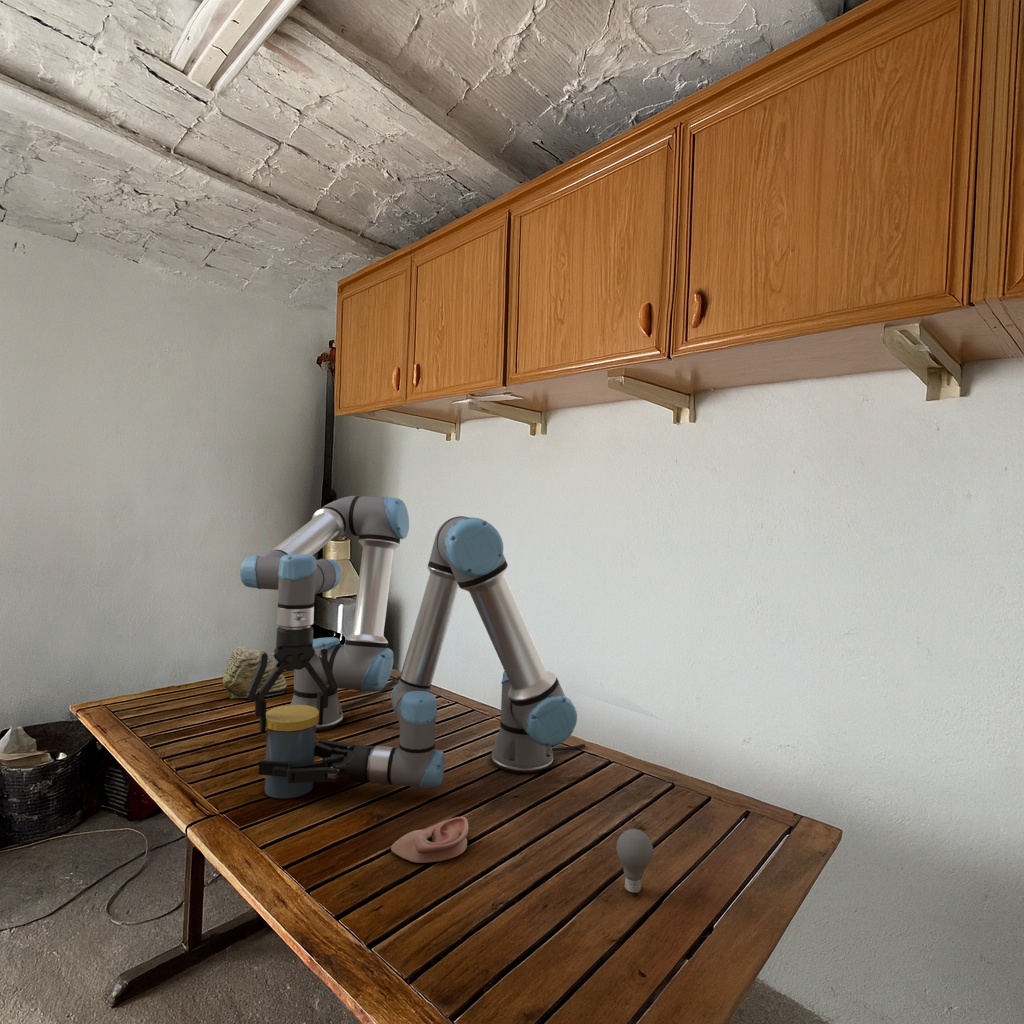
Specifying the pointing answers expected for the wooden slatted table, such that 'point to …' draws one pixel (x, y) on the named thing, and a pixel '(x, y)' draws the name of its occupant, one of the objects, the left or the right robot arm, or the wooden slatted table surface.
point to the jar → (289, 760)
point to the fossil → (248, 673)
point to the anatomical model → (434, 842)
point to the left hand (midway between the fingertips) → (291, 726)
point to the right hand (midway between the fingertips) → (271, 757)
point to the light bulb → (634, 857)
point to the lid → (292, 718)
